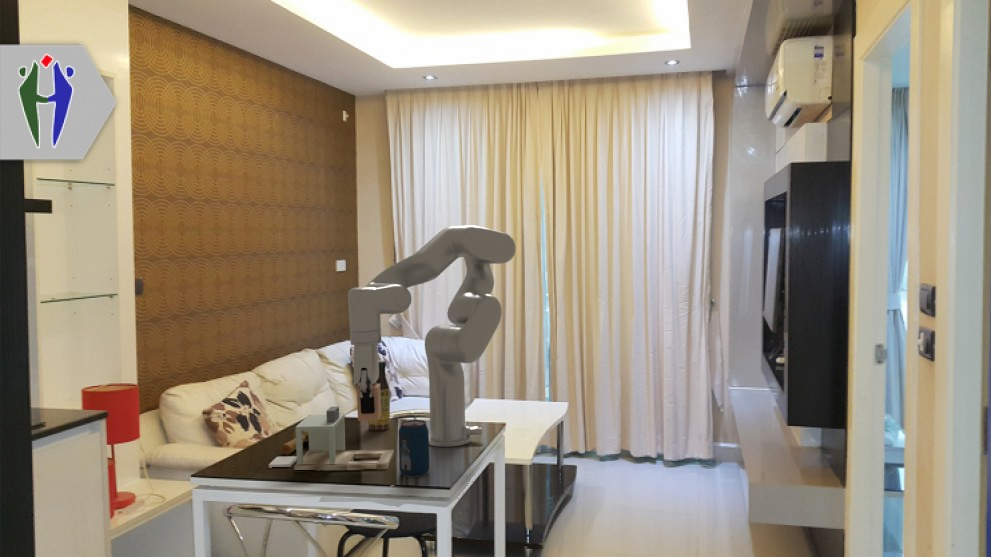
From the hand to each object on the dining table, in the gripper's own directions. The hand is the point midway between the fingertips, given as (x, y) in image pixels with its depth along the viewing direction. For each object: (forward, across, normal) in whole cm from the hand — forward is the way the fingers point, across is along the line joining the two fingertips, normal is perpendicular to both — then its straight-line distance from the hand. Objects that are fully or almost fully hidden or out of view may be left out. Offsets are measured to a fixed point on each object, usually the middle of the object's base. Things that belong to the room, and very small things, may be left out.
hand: (369, 409), depth 185 cm
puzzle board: (+13, +1, -6) cm, 14 cm away
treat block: (+2, 0, 0) cm, 2 cm away
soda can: (+13, +11, +12) cm, 21 cm away
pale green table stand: (+11, +1, -12) cm, 16 cm away
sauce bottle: (+14, -34, -3) cm, 36 cm away
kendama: (+13, -15, -21) cm, 29 cm away
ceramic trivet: (+12, +1, -22) cm, 25 cm away
